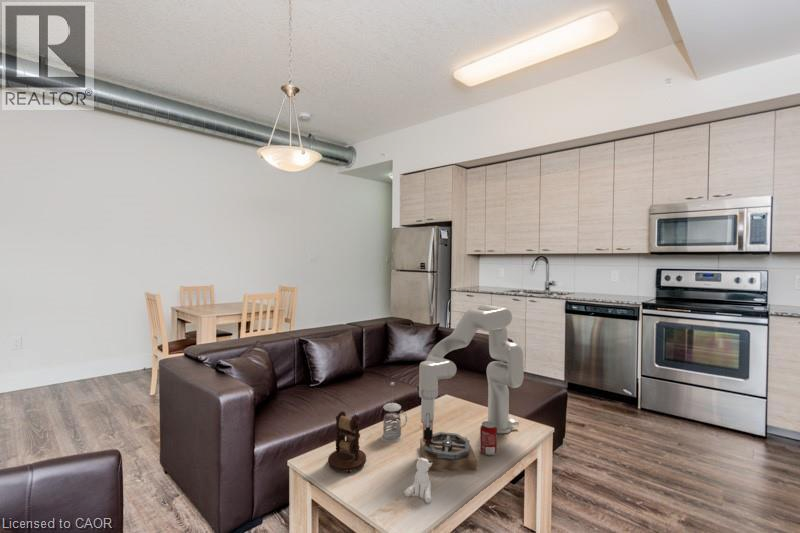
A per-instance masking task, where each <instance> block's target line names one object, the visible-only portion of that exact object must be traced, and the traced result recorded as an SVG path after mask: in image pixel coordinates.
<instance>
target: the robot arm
mask: <svg viewBox="0 0 800 533" xmlns="http://www.w3.org/2000/svg"><path fill="white" fill-rule="evenodd" d="M512 320H513V314H512V311H511V310H510V309H509V308H507V307H502V306H495V305H490V304H482V305H479V306H478V307H477V309H476V308H475V309H474V308H471V309H468V310H466V311H465V312H464V313H463V314H462V317H461V318H460V320H459V321H458V323H457V325H456V326H455V328H453V331H452V333H451V334H449V335H448V336H446V337H444V338H443V339H441V340H440V341H439V342H437V343H436V344H435V345H434V346H433V347H432V348H431V350H430V352H429V353H428V355H427V358H426V359H425V360H424V361H421V362H420V363H419V368H418V369H419V371H418V372H419V376H418V377H419V378H418V380H419V381H418V383H419V384H418V385H419V386H418V387H419V388H418V389H419V390H418V391H419V392H418V393H419V394H418V397H419V398H421V404H420V405H421V406H420V411H421V413H420V416H421V417H420V422H421V424H423V423H424V422H425V429H424V439H425V440H432V430H431V424H432V423H433V424H434V417H435V404H436V401H435V399H437V398H438V395H439V392H438V391H439V390H438V389H439V384H438V383H439V380H446V379H451V378H453V377H454V376H456V373H457V370H458V369H457V365H456V364H455V363H454V361H452V360H450V359H447V358H444V357H445V356H446V355H447V354H448V353H450V352H452V351H454V350H459V349H463V348H467V346H469V345H470V343H471V341H472V340H473V338H474V336H475V335H476V333H477V331H478V330H479V331H484V332H488V350H489V355H490V357H491V358H492V359H494V360H495V361H494V360H493V361H491V362H489V363H488V365H487V367H486V378H487V386H488V387H487V388H488V391H487V392H488V395H487V396H488V400H487V421H490V422H493V423H495V426H496V428H497V434H502V435H503V434H504V435H505V434H508V433H510V432H511V431H512V429H513V427H512V426H519V425H520V424H519V420H515V419H514V418H511V419H510V418H509V410H510V408H509V404H510V402H509V401H510V390H509V387H510V388H513V389H516V388H519V387H521V386H522V384H523V382H524V377H525V376H524V351H523V349H522V346H520V345H519V344H517V343H516V342H512V341H509V338H508V330H507V329H508V328H507V327H508V326H509V325H510V324H511V323H512ZM429 424H430V425H429Z"/></svg>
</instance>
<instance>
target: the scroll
mask: <svg viewBox="0 0 800 533" xmlns="http://www.w3.org/2000/svg"><path fill="white" fill-rule="evenodd" d="M335 423H336V424H335V429H334V431H335V434H336V435H335V450H334V451H332V452H331V453H330V454H329V456H328V459H327V464H328V467H330V468H332V469H333V470H334V471H335V470H337V471H341V472H347V473H348V474H351V472H352V471H354V470H355V471H356V470H357V469H360V468H361V467H363V466H364V465H365V464H366V462H367V454H366V452H364V451H363V450H361V449H360V448H361V447H360V445H359V444H360V441H359V440H360V438H361V433H360V429H359V428H360V424H361V422H360V417H359V416H358V415H357V414H354V415H353V416H352V417H349V416H348V417H347V416H346V412H345V411H340V412H339V413H338V414H337V415H336V416H335Z"/></svg>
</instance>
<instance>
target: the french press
mask: <svg viewBox="0 0 800 533" xmlns="http://www.w3.org/2000/svg"><path fill="white" fill-rule="evenodd" d="M390 386H391V387H392V388H391V402H388V403H386V404H384V405H383V410H384V411H386V412H387V413H385V414H384V416H383V424H382V425H383V428H382V430H383V432H382V433H383V434H382V435H381V436H380V438H382V439H383V440H384V441H383V440H382V439H381V440H382V441H383V442H385V441H386V443H391V442H394V443H398V442H400V440H401V439H402V436H403V435H402V428H404V427H405V426H406V425H407V422H408V416H407V413H406V412H405V411H404V410H401V409H402V406H401V404H398V403H397V402H393V396H394V394H393V392H394V391H393V390H394V389H393V388H394V387H393V386H395V382H393V381H391V382H390ZM398 411H399V413H396V412H398ZM401 414H402V415H404V417H405V423H404V424H402V425H401ZM402 440H403V439H402ZM402 440H401V441H402Z"/></svg>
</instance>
